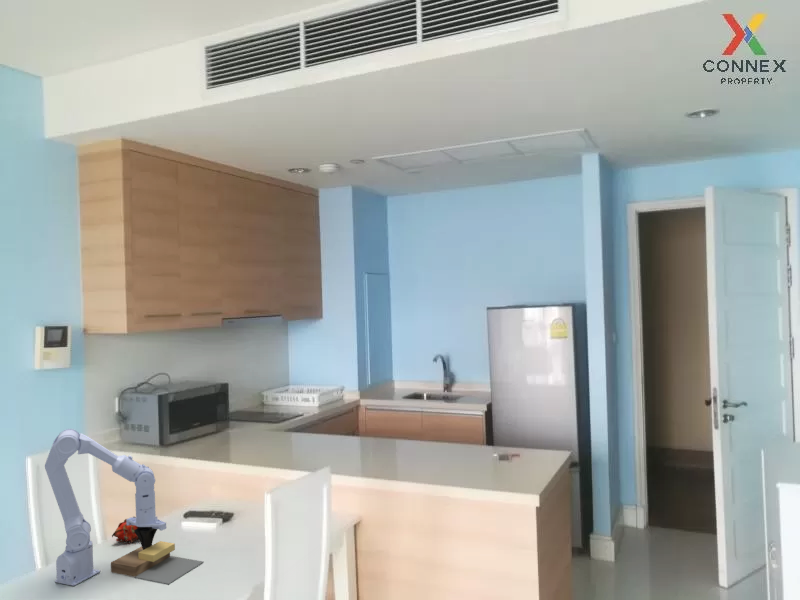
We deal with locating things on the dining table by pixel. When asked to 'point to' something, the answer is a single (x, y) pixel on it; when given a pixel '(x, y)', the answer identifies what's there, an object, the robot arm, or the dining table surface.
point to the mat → (169, 570)
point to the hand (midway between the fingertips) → (147, 549)
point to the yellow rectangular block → (156, 551)
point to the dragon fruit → (125, 532)
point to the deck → (133, 564)
